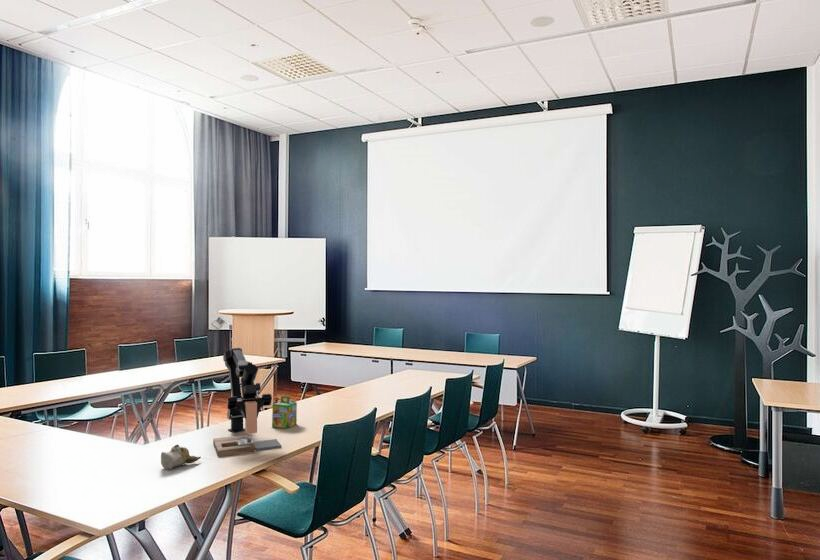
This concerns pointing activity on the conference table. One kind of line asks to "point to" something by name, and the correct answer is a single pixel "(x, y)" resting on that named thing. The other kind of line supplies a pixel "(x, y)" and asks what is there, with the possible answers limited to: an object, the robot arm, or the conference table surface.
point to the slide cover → (244, 442)
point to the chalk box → (284, 413)
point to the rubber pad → (266, 444)
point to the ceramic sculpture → (176, 457)
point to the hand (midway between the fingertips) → (251, 417)
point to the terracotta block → (251, 417)
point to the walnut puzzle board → (231, 446)
